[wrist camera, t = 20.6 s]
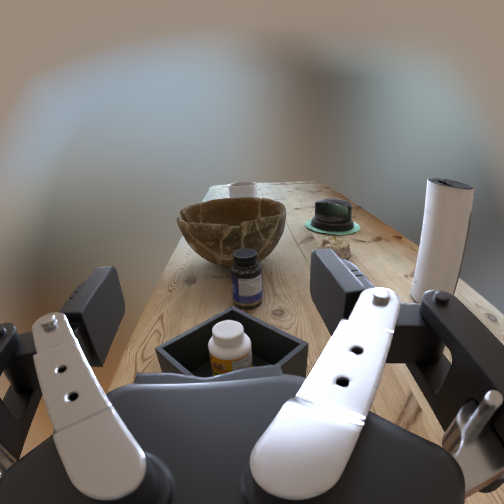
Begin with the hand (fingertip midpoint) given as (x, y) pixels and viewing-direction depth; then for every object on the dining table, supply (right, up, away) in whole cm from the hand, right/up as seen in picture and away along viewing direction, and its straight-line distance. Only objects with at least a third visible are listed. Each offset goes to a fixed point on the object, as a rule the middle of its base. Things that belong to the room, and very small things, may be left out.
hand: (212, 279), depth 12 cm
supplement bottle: (-1, -18, +29) cm, 34 cm away
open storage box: (-1, -18, +29) cm, 34 cm away
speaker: (+41, -9, +46) cm, 63 cm away
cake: (+24, 0, +72) cm, 76 cm away
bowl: (-3, -2, +69) cm, 70 cm away
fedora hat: (+30, +10, +95) cm, 100 cm away
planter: (-2, +20, +123) cm, 124 cm away
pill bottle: (+1, -9, +51) cm, 52 cm away
